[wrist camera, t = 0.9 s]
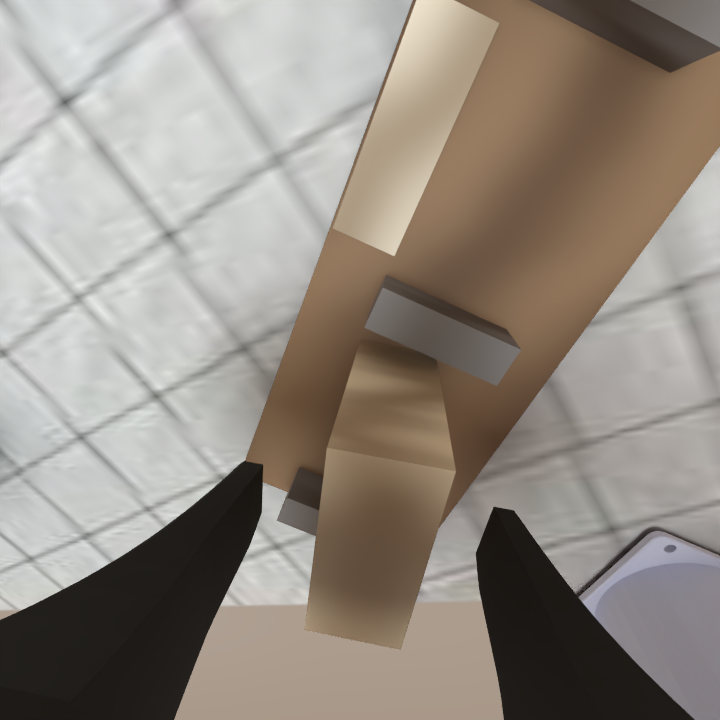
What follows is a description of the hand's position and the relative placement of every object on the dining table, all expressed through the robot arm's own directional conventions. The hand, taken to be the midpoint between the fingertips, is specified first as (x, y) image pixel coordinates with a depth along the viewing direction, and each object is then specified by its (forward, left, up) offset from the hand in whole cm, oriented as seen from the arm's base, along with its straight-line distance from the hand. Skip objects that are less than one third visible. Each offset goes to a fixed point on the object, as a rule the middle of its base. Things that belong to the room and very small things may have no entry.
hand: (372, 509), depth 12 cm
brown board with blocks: (0, -5, -6) cm, 8 cm away
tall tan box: (0, 0, -5) cm, 5 cm away
